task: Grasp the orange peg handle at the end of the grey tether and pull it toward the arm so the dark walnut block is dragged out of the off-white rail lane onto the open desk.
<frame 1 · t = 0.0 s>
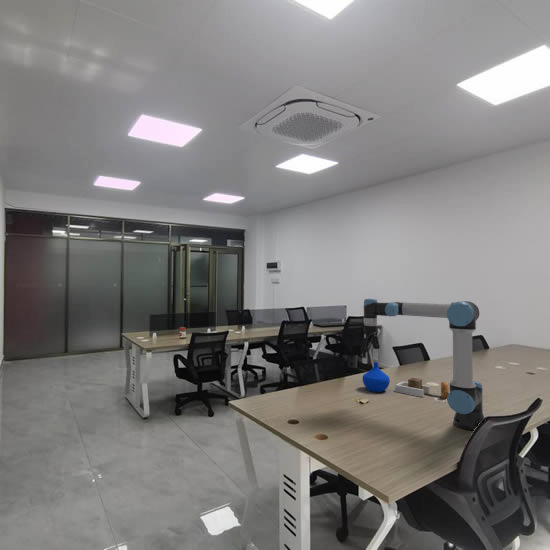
hand: (370, 361, 208), 28 cm above the table, fingers open, 13 cm apart
tethered block: (415, 392, 242), on the table
lane: (413, 392, 243), on the table
vase: (375, 390, 247), on the table
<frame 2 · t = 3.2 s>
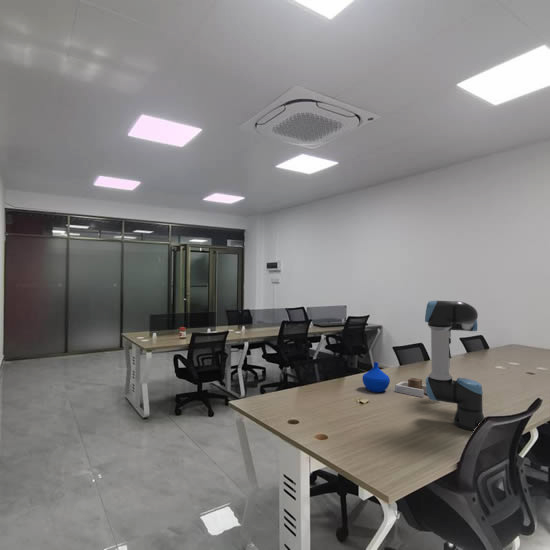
hand: (444, 369, 231), 18 cm above the table, fingers open, 13 cm apart
nothing on the table moved.
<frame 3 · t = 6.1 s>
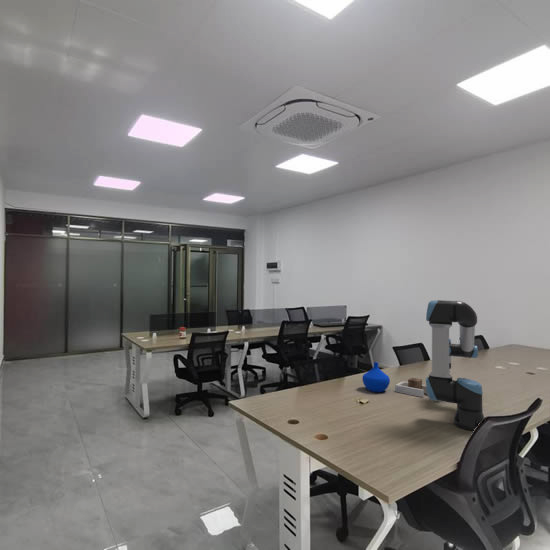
hand: (444, 398, 230), 0 cm above the table, fingers closed on tethered block, 4 cm apart
tethered block: (415, 392, 242), on the table, touching gripper
everything else where it was.
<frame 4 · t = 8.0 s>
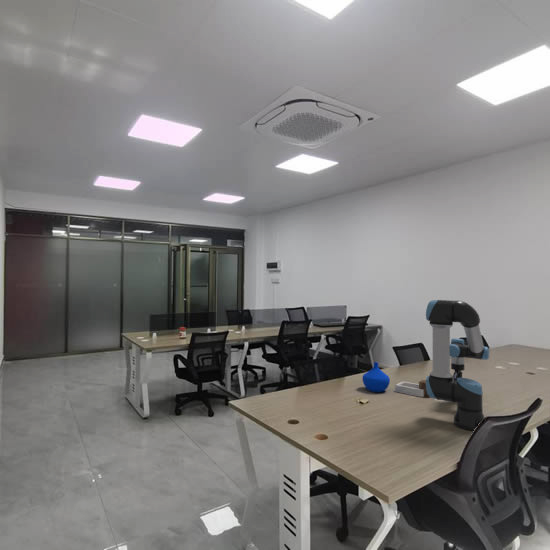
hand: (457, 400, 225), 1 cm above the table, fingers closed on tethered block, 4 cm apart
tethered block: (425, 395, 237), on the table, touching gripper
everything else where it was.
when the fingers open (1 cm above the table, at t = 9.9 s): tethered block stays where it is, on the table.
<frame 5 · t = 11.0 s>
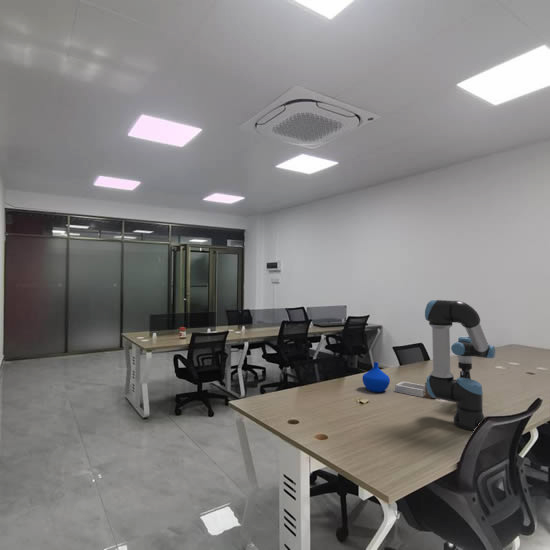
hand: (465, 396, 222), 4 cm above the table, fingers open, 13 cm apart
tethered block: (432, 396, 234), on the table
everything else where it was.
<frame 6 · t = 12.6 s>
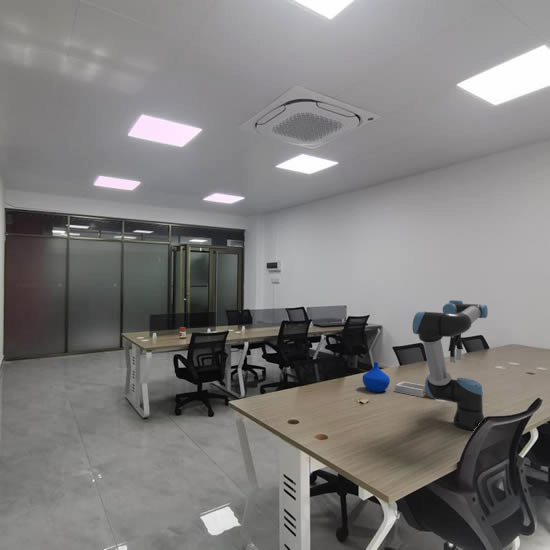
hand: (455, 361, 215), 27 cm above the table, fingers open, 13 cm apart
nothing on the table moved.
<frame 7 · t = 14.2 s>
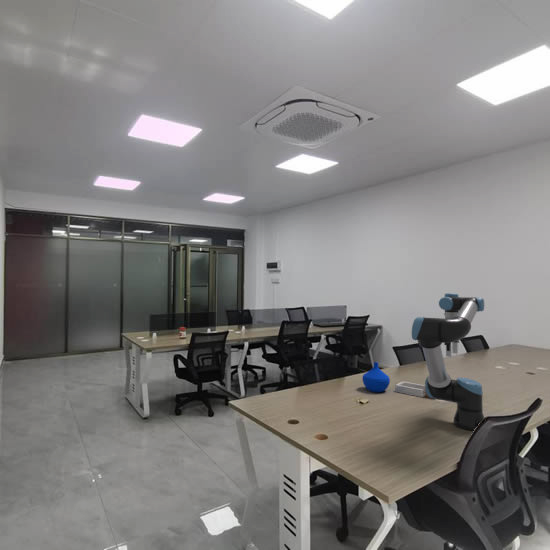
hand: (451, 355, 212), 32 cm above the table, fingers open, 13 cm apart
nothing on the table moved.
at the end: tethered block inside the target area (5.6 cm from its centre), on the table; tethered block moved 11.6 cm from its start; the gripper is holding nothing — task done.
